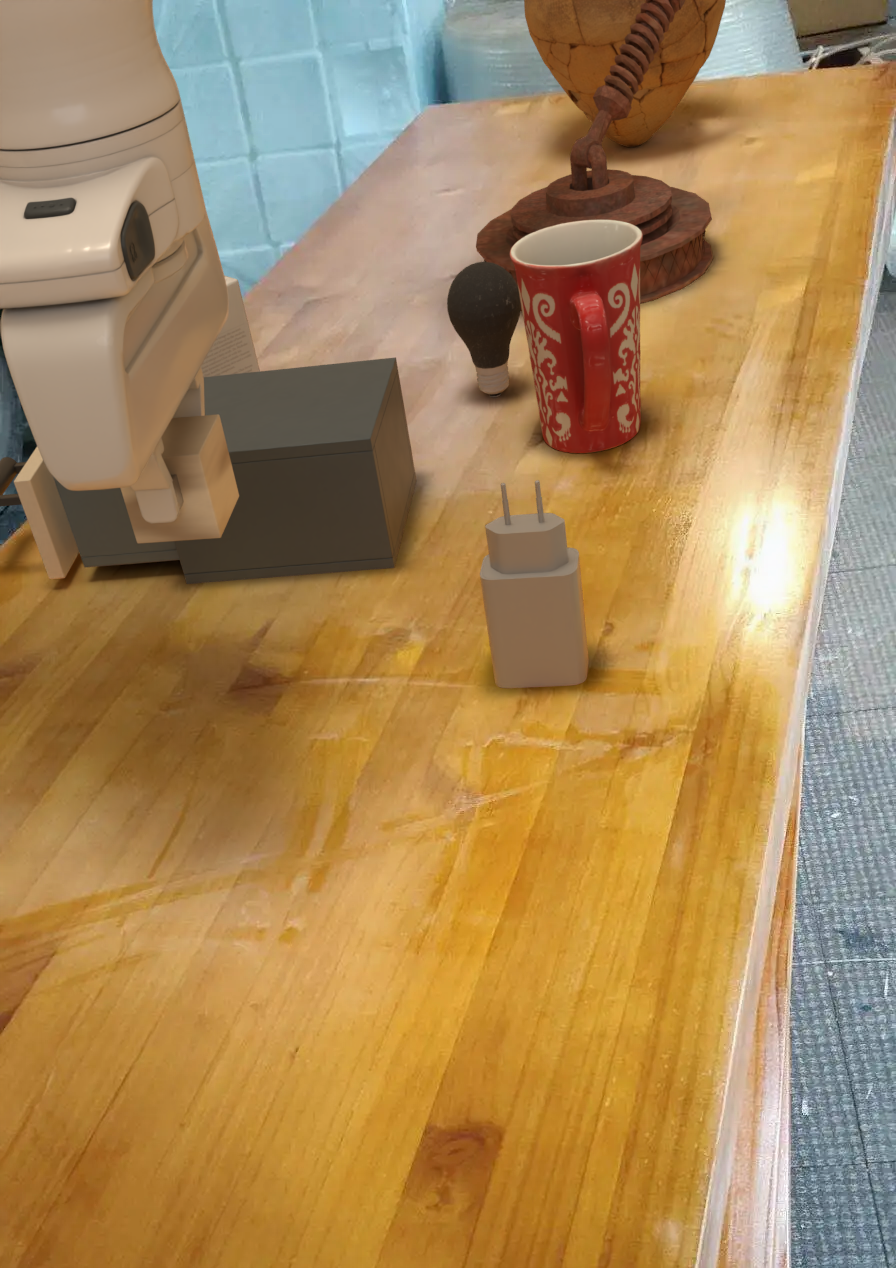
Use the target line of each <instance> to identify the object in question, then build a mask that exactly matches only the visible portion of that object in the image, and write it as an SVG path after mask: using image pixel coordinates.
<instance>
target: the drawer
mask: <svg viewBox="0 0 896 1268" xmlns="http://www.w3.org/2000/svg"><path fill="white" fill-rule="evenodd" d="M12 482H13V484H14V487H15V490H16V492H17V493H8V494H5V492H6V491H7V489H8V488H9V486H10V485H11V483H12ZM7 506H8V507H10V506H22V508H23V512H24V514H25V516H26V519H27V522H28V525H29V527H30V528H29V529H30V530H31V533H32V536H33V539H34V542H35V544H36V547H37V550H38V552H39V555H40V557H41V561H42V563H43V566H44V569H45V571H46V574H47V578H48V579H49V580H57V579H65V578H66V577H67V576H68V574H69V571H70V569H72V566H73V564H74V563H75V561H76V559H77V557H78V555H79V557H80V559H81V562H82V565H83V567H84V568H98V567H110V566H121V565H135V564H146V563H157V562H158V563H159V562H171V561H180V559H179V556H178V552H177V549H176V546H175V542H174V541H168V542H153V543H137V541H136V537H135V534H134V531H133V528H132V524H131V521H130V518H129V514H128V511H127V508H126V505H125V501H124V498H123V495H122V491H121V488H112V489H101V490H82V491H73V490H68V489H66V488H65V487H64V486H62V485H61V484H60V483H59V482H58V481H57V480H56V479H55V478H54V477H53V476H52V474H51V473H50V472H49V470H48V469H47V467H46V465H45V463H44V461H43V459H42V456H41V454H40V452H39V449H38V447H37V446H36V447H35V449H34V450H33V451H32V453H31V454H30V456H29V458H28V459H27V460H26V461H20V462H17V461H16V460H15V459H14V458H12V457H10V456H5V457H2V458H1V459H0V507H7Z"/></svg>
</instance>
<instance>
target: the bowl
mask: <svg viewBox="0 0 896 1268" xmlns="http://www.w3.org/2000/svg"><path fill="white" fill-rule="evenodd" d="M645 1H646V0H523V4H524V6H523V7H524V8H523V9H524V17H525V22H526V26H527V29H528V33H529V36H530V38H531V40H532V42H533V44H534V46H535V48H536V50H537V52H538V54H539V56H540V58H541V60H542V62H543V64H544V65H545V66H546V67H547V68H548V70H549V71H550V73H551V75H552V77H553V78H554V79H555V80H556V82H557V83H558V85H559V86H560V87H561V88H562V90H563V91H564V92H565V94H566V95H567V96H568V98H569V99H570V100H571V101H572V102H573V103H574V105H575V106H576V107H577V108H578V109H579V110H580V111H581V112H582V113H583V114H584V115H585V117H586V118H587V120H589V122H590V123H591V125H592V124H593V122H594V120H595V118H596V116H597V114H598V112H599V111H598V109H597V107H596V105H595V102H594V99H593V96H594V94H595V92H596V90H597V88H598V87H601V86H603V85H605V81H604V79H605V77H606V76H607V75H611V73H610V66H612V65H616V63H615V56H617V55H621V54H620V49H619V48H620V46H621V45H622V44H626V43H625V37H626V36H627V35H628V34H629V33H631V30H630V26H631V25H633V24H636V21H635V19H636V15H637V14H639V13H640V6H641V4H642V3H646V2H645ZM726 2H727V0H686V1H685V3H684V4H683V6H682V8H681V9H680V10H678V11H677V12H676V13H675V15H674V19H673V22H671V23H670V25H669V30H668V31H667V32H665V33H664V40H663V41H662V42H661V43H659V50H658V51H657V52H656V53H655V54H654V60H653V61H652V62H651V63H650V64H649V67H648V71H647V72H646V74H645V75H643V78H644V80H643V82H642V83H641V84H640V85H638V89H639V90H638V92H637V93H636V94H634V95H633V100H632V104H631V110H630V112H629V114H628V116H627V118H624V119H621V120H614V121H612V122H611V124H610V126H609V128H608V130H607V132H606V134H605V136H604V137H606V138H607V139H609V140H611V141H613V142H615V143H616V144H619V145H621V146H623V147H627V148H636V147H638V146H641V145H643V144H644V143H647V142H648V141H649V140H650V139H651V138H652V137H653V136H654V135H655V134H656V133H657V132H658V131H659V130H660V128H662V126H663V125H664V124H666V123H667V121H668V120H669V119H670V118H671V116H672V115H673V113H674V111H675V110H676V109H677V107H678V106H679V104H680V102H681V101H682V100H683V98H684V97H685V95H686V93H687V91H688V90H689V88H690V87H691V85H693V83H694V81H695V79H696V78H697V76H698V74H699V72H700V71H701V69H702V68H703V67H704V65H705V64H706V62H707V60H709V57H710V55H711V53H712V50H713V47H714V46H715V42H716V40H717V37H718V33H719V29H720V25H721V22H722V18H723V15H724V11H725V8H726ZM645 57H646V55H645ZM639 67H641V66H639ZM634 77H635V76H634ZM635 78H636V77H635ZM629 87H630V88H631V86H629ZM625 97H626V96H625Z"/></svg>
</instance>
